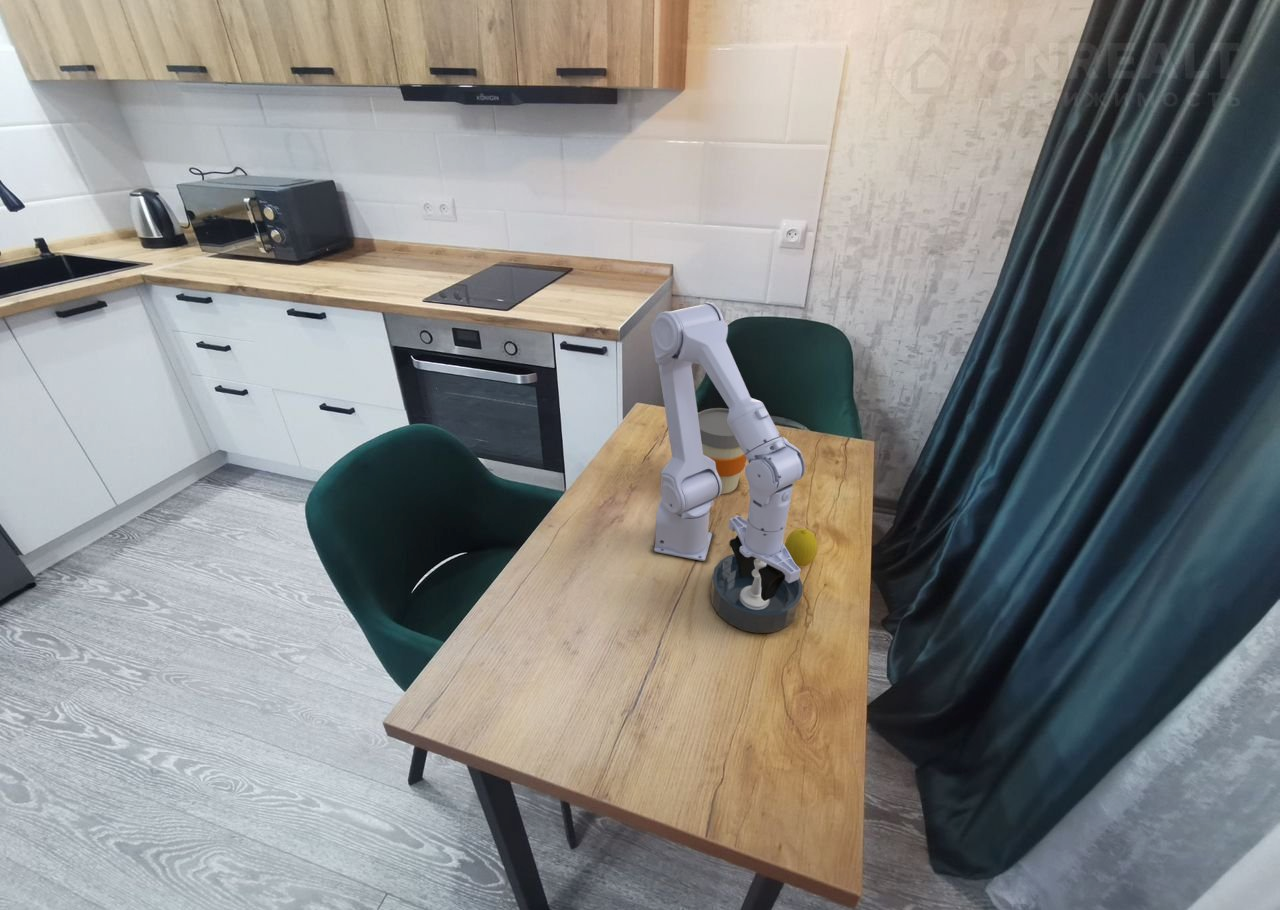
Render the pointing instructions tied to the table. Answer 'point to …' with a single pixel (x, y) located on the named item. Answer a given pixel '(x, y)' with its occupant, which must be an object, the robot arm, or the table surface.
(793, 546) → the lemon
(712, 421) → the reusable coffee cup
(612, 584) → the table surface
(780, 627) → the bowl
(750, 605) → the chess piece
